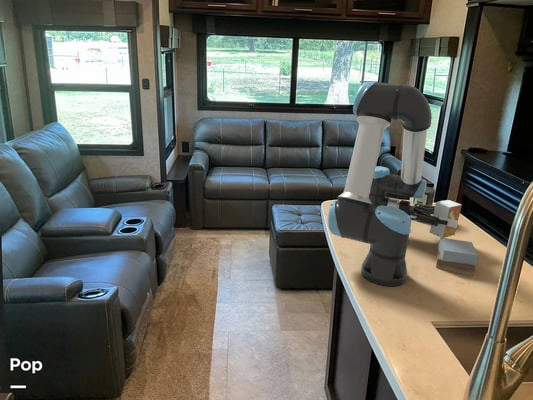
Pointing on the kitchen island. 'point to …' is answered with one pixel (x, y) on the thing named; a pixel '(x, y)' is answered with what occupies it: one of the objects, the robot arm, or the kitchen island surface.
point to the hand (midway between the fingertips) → (457, 219)
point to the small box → (445, 211)
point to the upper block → (457, 251)
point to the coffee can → (424, 198)
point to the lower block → (454, 266)
